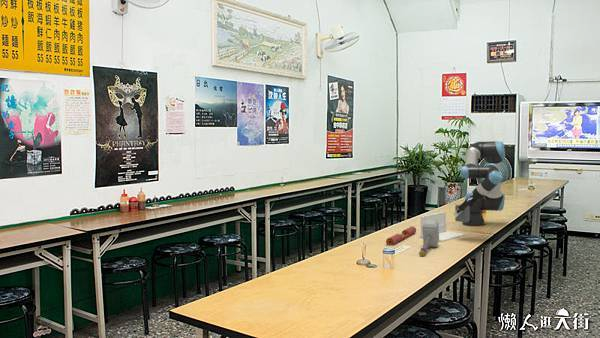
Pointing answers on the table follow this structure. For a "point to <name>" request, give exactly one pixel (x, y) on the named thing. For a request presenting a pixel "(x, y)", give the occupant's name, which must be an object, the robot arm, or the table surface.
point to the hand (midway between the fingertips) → (457, 215)
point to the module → (463, 214)
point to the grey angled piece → (429, 235)
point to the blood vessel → (400, 236)
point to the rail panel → (440, 226)
